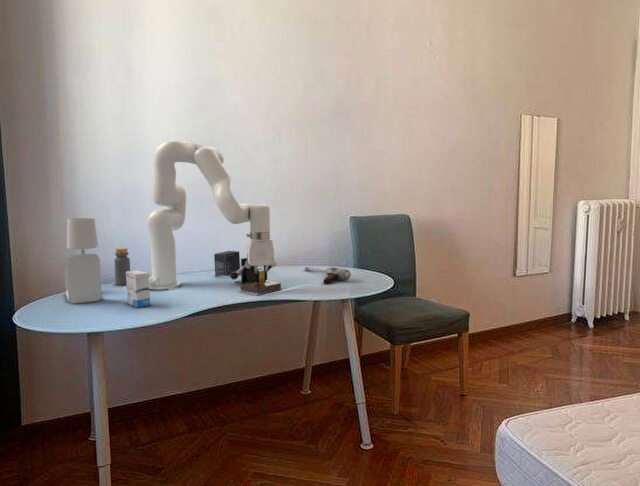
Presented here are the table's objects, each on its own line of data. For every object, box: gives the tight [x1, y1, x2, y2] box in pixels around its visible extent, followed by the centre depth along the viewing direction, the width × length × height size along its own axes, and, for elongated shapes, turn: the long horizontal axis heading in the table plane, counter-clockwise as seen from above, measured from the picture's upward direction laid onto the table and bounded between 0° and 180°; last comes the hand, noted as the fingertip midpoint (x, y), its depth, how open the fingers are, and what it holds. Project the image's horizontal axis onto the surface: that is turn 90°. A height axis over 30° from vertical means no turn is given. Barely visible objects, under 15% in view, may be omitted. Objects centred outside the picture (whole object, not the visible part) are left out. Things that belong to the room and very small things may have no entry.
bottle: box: [113, 247, 131, 286], centre depth 219 cm, size 6×6×15 cm
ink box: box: [126, 269, 151, 308], centre depth 185 cm, size 9×5×12 cm, turn 45°
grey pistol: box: [304, 266, 352, 285], centre depth 236 cm, size 5×35×13 cm
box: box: [213, 250, 241, 277], centre depth 239 cm, size 11×7×10 cm, turn 154°
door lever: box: [229, 260, 247, 281], centre depth 218 cm, size 12×3×3 cm, turn 141°
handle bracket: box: [234, 257, 255, 285], centre depth 221 cm, size 9×8×11 cm
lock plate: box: [240, 279, 282, 297], centre depth 208 cm, size 12×10×3 cm
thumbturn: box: [258, 267, 265, 285], centre depth 207 cm, size 5×2×6 cm, turn 21°
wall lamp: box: [64, 217, 103, 304], centre depth 193 cm, size 10×21×30 cm, turn 32°
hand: (260, 282), depth 208 cm, fingers closed on thumbturn, 2 cm apart
